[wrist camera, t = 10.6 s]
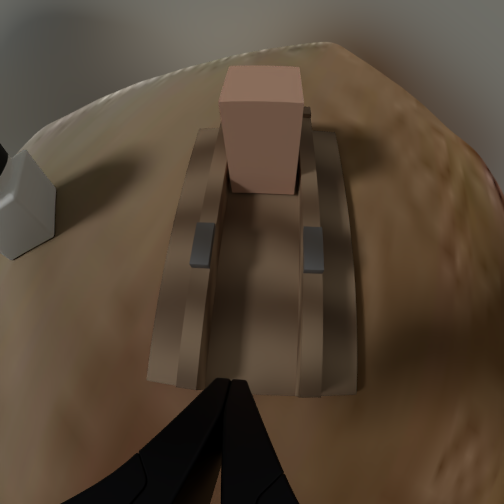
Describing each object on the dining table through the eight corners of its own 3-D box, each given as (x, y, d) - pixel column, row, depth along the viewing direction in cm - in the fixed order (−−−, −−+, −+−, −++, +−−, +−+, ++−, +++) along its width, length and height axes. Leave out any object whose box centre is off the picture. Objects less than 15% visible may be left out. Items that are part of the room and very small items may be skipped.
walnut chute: (353, 394, 17) (372, 395, 14) (150, 380, 18) (126, 377, 14) (333, 138, 28) (340, 109, 24) (200, 134, 29) (194, 105, 25)
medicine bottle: (57, 188, 27) (3, 114, 16) (55, 237, 24) (-18, 161, 13) (15, 213, 26) (-41, 151, 15) (11, 262, 23) (-62, 202, 12)
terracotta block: (293, 194, 23) (303, 103, 15) (232, 192, 23) (218, 101, 15) (292, 152, 25) (299, 67, 17) (238, 150, 26) (229, 66, 17)
